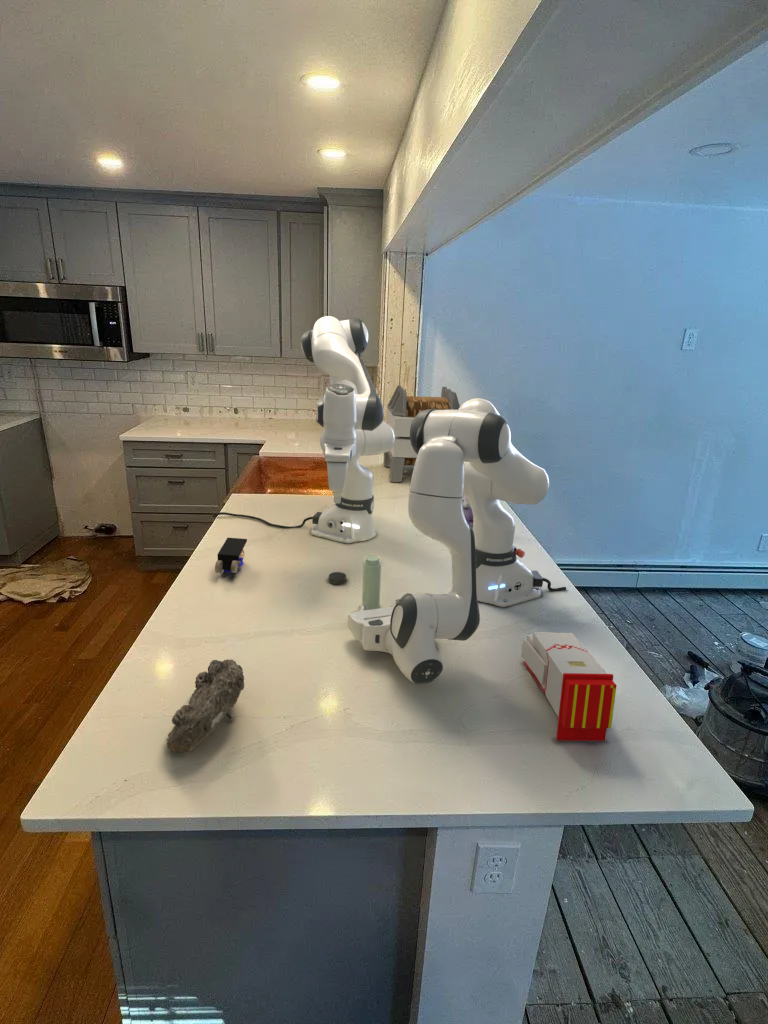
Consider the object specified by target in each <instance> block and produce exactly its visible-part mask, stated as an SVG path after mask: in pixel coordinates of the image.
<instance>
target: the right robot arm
mask: <svg viewBox="0 0 768 1024" xmlns="http://www.w3.org/2000/svg"><path fill="white" fill-rule="evenodd" d="M511 432H512V431H511V426H510V423H509V421H508V420H507V419H506V417H504V416H502V415H500V413H499V412H498V410H497V409H496V407H495V406H494V405H493V403H492V402H491V401H489V400H487V399H484V398H480V397H476V398H475V397H474V398H472V399H468V400H466V401H464V402H463V403H462V404H461V405H460V407H459V409H458V410H436V409H428V410H423V411H420V412H419V413H418V414H417V415H416V416H415V418H414V419H413V421H412V424H411V427H410V442H411V445H412V447H413V449H414V451H415V453H416V454H417V459H416V462H415V466H413V471H412V474H411V480H410V486H409V494H408V503H407V510H408V518H409V519H410V521H411V524H412V525H413V526H414V527H415V529H417V530H418V531H419V532H420V533H422V534H423V535H425V536H426V537H428V538H431V539H433V540H434V541H436V542H439V543H440V544H443V545H444V546H445V547H446V548H447V549H448V551H449V553H450V557H451V578H452V579H451V580H452V582H451V583H452V588H451V590H450V592H448V593H429V592H411V593H409V592H407V593H405V594H404V595H403V596H401V597H400V598H399V599H398V598H397V599H395V605H394V606H387V607H379V609H371V610H367V605H366V604H362V603H360V604H359V610H356V611H350V612H349V613H348V615H347V628H348V630H349V632H350V633H351V634H352V637H354V639H356V641H358V642H360V643H361V645H362V646H361V647H362V649H363V650H364V651H372V652H373V651H375V652H381V653H382V652H384V653H388V654H390V655H391V656H392V658H393V661H394V663H395V664H396V666H397V667H398V669H399V671H400V672H401V673H402V674H403V675H404V677H405V678H406V679H408V680H409V681H410V682H412V683H414V684H417V685H423V684H430V683H431V682H434V681H435V680H437V679H438V678H439V677H440V676H441V674H442V673H443V670H444V663H443V660H442V658H441V656H440V654H439V652H438V650H437V648H436V641H435V640H448V641H462V642H463V641H464V642H465V641H467V640H468V639H470V638H471V637H472V636H473V635H474V634H475V632H476V631H477V630H478V628H479V626H480V622H481V621H480V620H481V616H480V615H481V614H480V606H479V602H480V603H485V604H491V605H494V606H497V607H499V608H507V607H509V606H510V607H511V606H513V605H516V604H520V603H523V602H527V601H531V600H533V599H536V598H537V599H538V598H540V597H541V596H542V590H541V589H540V588H543V585H544V582H545V583H547V585H546V587H547V590H548V591H550V592H561V591H566V590H567V587H566V586H561V587H557V588H556V587H555V588H554V587H552V582H551V581H550V579H548V578H546V577H543V576H542V575H541V574H540V573H539V571H538V570H532V569H530V568H529V567H528V566H527V565H525V563H523V562H522V561H521V560H520V559H523V558H524V557H525V555H526V553H525V551H524V550H522V549H521V548H517V547H516V546H515V545H514V538H515V531H516V523H515V519H514V518H513V515H511V514H510V513H509V512H508V511H507V510H505V508H504V507H503V505H502V504H501V502H500V501H502V502H507V503H511V504H516V505H525V506H527V505H528V506H529V505H531V506H533V505H538V504H539V503H541V502H542V501H543V500H544V499H545V498H546V496H547V494H548V492H549V488H550V479H549V475H548V474H547V471H546V469H545V468H542V467H540V466H539V465H537V464H536V463H533V462H531V461H530V460H529V459H528V458H526V457H525V456H524V455H523V454H522V453H521V452H519V451H518V450H517V448H515V446H514V445H513V443H512V441H511V440H512V439H511V438H512V435H511ZM463 494H465V496H466V498H467V499H468V501H469V503H470V506H471V509H472V512H473V520H474V521H473V527H472V525H471V524H470V523H469V522H467V521H466V519H465V516H464V512H463ZM517 557H518V558H519V559H518V558H517Z"/></svg>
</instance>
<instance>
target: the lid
mask: <svg viewBox="0 0 768 1024" xmlns="http://www.w3.org/2000/svg"><path fill="white" fill-rule="evenodd" d="M327 578H328V579H327V580H328V582H329V583H330V584H332V585H335V586H336V585H343V584H345V583H346V582H347V580H348V579H347V574H346V573H344V572H343V571H333V572H330V573H329V574H328V577H327Z"/></svg>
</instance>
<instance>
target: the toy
mask: <svg viewBox="0 0 768 1024" xmlns="http://www.w3.org/2000/svg"><path fill="white" fill-rule="evenodd" d="M522 639H523V640H522V645H521V653H520V657H521V658H522V659H523V664H524V665H525V667H526V668H527V670H528V672H529V673H530V675H531V676H532V677H533V679H534V680H535V682H536V683H537V685H538V686H539V688H540V690H541V691H542V692H543V693H544V694H545V697H546V698H547V701H548V702H549V704H550V705H551V708H552V709H553V710H554V712H555V714H556V716H557V718H558V719H557V728H556V737H555V740H556V741H562V742H563V741H566V742H567V741H570V742H571V741H572V742H574V741H575V742H606V737H607V732H608V731H607V730H608V729H612V726H613V725H612V723H613V718H614V717H613V716H614V710H615V701H616V693H617V686H618V685H617V684H616V683H615V681H614V674H613V673H607V671H605V670H604V668H602V666H601V665H600V664H599V663H598V661H597V660H596V659H595V658H594V657H593V656H592V654H590V652H589V651H588V650H587V648H586V647H585V646H584V645H583V644H582V643H581V642H580V640H579V639H578V638H577V637H576V636H575V634H574V633H573V632H541V631H540V632H537V631H536V632H535V631H534V632H533V633H527V635H526V638H522Z"/></svg>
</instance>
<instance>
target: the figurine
mask: <svg viewBox="0 0 768 1024" xmlns="http://www.w3.org/2000/svg"><path fill="white" fill-rule="evenodd" d="M463 512H464V516H465V519H466V521H467V522H469V523H470V524H471V525H472V528H473V521H474V520H473V512H472V509H471V506H470V503H469V501H468V499H467V498H466V496H465V494H463Z"/></svg>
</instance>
